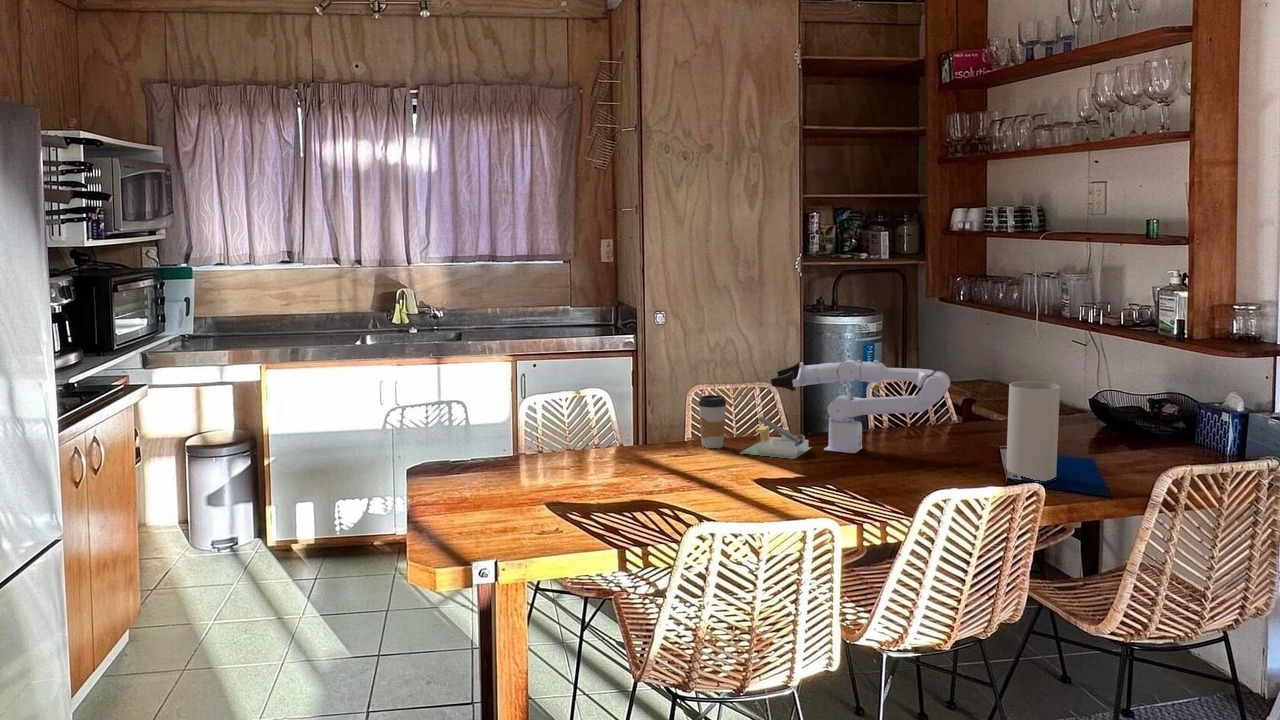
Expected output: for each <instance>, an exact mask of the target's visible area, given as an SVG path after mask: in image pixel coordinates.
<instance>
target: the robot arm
mask: <svg viewBox="0 0 1280 720" xmlns="http://www.w3.org/2000/svg"><path fill="white" fill-rule="evenodd" d="M776 373H777V377H773V378H771V379H770V382H771V387H776V388H783V389H787V390H789V391H792V392H795V391H796V387H801V386H802V387H805V386H810V385H818V384H819V385H820V384H827V383H836V382H841V381H844V382H847V383H853V382H854V381H856V380H857V381H859V382H869V383H880V384H881V383H883V382H884V381H885V380H896V381H903V382H911V383H914V385H916V386H917V387H918V388H919V389H921V390H920V391H918V393H917V394H916V395H899V396H897V395H896V396H885V397H884V396H883V397H880V396H879V397H864V398H863V397H859V396H858V397H857V396H856V397H853V396H850V395H848V394H840V395H839V396H837V397H836V398H835V399H834V400H832V401H831V402H829V404H828V406H827V415H828V416H829V417H828V446H826V447H824V448H823V451H828V452H837V453H840V452H841V453H847V454H856V453H858V452H859V451H860V450H862V449H863V425H862V422H861V421H858V420H854V418H855V417H859V416H867V415H885V414H886V415H889V414H912V413H923V412H926V411H927V410H928V409H930V408H931V407H933V406H934V405H935V404H937V403H938V402H939V401H940V400H941V399H942V397H944V396H945V394H946V393H947V392H948V390H949V388H951V387H950V386H951V379H950V377H949V375H948V374H947V373H946V372H944V371H941V370H938V371H937V370H936V371H934V370H933V369H924V368H911V367H910V368H909V367H908V368H907V367H906V368H905V367H904V368H903V367H902V368H901V367H887V366H886V365H885V364H884V363H883V362H879V360H876V359H874V360H873V361H862V360H861V359H857V360H855V359H851V358H849V359H846V360H845V361H843V362H838V361H837V362H826V363H819V364H808V365H804V362H803V361H802V362H799V361H798V362H797V363H795V364H793V365H792V366H790V367H786V368H783V369H780V370H778V371H777V372H776Z"/></svg>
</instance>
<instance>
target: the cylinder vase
mask: <svg viewBox="0 0 1280 720" xmlns="http://www.w3.org/2000/svg"><path fill="white" fill-rule="evenodd" d="M1008 386H1009V387H1008V412H1007V433H1006V434H1007V435H1006V436H1007V437H1006V439H1007V440H1006V460H1005V461H1006V466H1005V468H1006V469H1007V470H1008V471H1009V472H1012V473H1017V474H1019V475H1020V476H1023V477H1026V478H1030V479H1033V480H1040V481H1047V480H1051V479H1053V478H1055V477H1056V478H1057V467H1058V465H1057V463H1058V441H1059V422H1060V421H1059V417H1060V399H1061V398H1060V395H1061V386H1060V385H1059V384H1057V383H1051V382H1043V381H1015V382H1011V383H1009V384H1008ZM1006 469H1005V470H1006ZM1035 482H1039V481H1035ZM1040 483H1041V482H1040Z"/></svg>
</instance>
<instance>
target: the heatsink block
mask: <svg viewBox="0 0 1280 720" xmlns="http://www.w3.org/2000/svg"><path fill="white" fill-rule="evenodd" d="M780 435H781V437H777V436H769V437H768V438H766V439H764V440H763V441H761V442H760V441H759V442H757V443H758V453H760V454H770V455H780V456H790V457H798V456H800V455H801V454H803V453H804V452H806V451H808V447H809V439H806V438H805V435H804V434H799V433H798V434H796V435H795V434H794V435H795V436H797V437H798V438H799V437H800V438H801V439H802V440H801V441H800V442H798V438H796V437H793V440H791V439H789V438H788V437H786V436H784V435H782V434H780ZM808 452H809V451H808ZM806 453H807V452H806ZM804 454H805V453H804ZM804 454H803V455H804ZM801 456H802V455H801ZM801 456H800V457H801ZM798 458H799V457H798Z"/></svg>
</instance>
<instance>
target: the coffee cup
mask: <svg viewBox="0 0 1280 720" xmlns="http://www.w3.org/2000/svg"><path fill="white" fill-rule="evenodd" d="M726 407H727V400H726V399H725V396H723V395H715V394H714V395H713V394H711V395H710V394H708V395H702V396H699V400H698V408H699V426H700V427H699V429H700V430H699V431H700V437H701V438H700V441H701V445H702V448H704V447H705V448H704V449H708V448H717V449H721V448H722V447H723V445H724V436H725V429H726V428H725V425H726Z"/></svg>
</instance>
